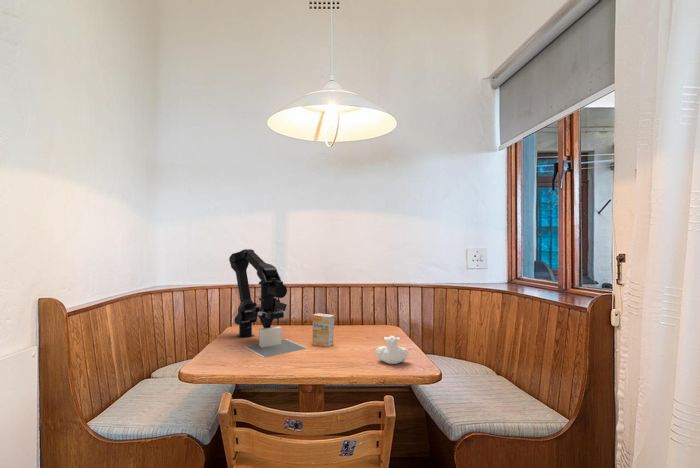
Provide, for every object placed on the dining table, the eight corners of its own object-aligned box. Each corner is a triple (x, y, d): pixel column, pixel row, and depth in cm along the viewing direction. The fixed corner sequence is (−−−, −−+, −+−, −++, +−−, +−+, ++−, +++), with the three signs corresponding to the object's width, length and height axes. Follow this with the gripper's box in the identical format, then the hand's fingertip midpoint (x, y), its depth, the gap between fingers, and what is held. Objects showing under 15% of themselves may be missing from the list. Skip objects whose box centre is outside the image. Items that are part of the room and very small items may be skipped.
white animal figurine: (375, 368, 138) (374, 349, 131) (376, 350, 144) (375, 331, 137) (408, 369, 136) (408, 350, 129) (408, 352, 142) (408, 333, 135)
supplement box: (311, 345, 159) (312, 314, 159) (317, 342, 163) (317, 312, 163) (328, 348, 155) (329, 316, 155) (334, 345, 159) (334, 314, 160)
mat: (243, 347, 155) (243, 346, 155) (286, 340, 167) (286, 339, 167) (263, 358, 141) (263, 357, 141) (308, 349, 153) (308, 348, 153)
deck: (258, 345, 156) (259, 329, 156) (278, 342, 162) (278, 326, 162) (262, 347, 154) (262, 330, 154) (281, 343, 159) (281, 327, 160)
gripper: (295, 296, 158) (294, 333, 158) (274, 291, 173) (274, 325, 173) (271, 298, 151) (270, 337, 151) (251, 293, 166) (251, 329, 166)
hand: (267, 332), depth 160 cm, fingers closed
